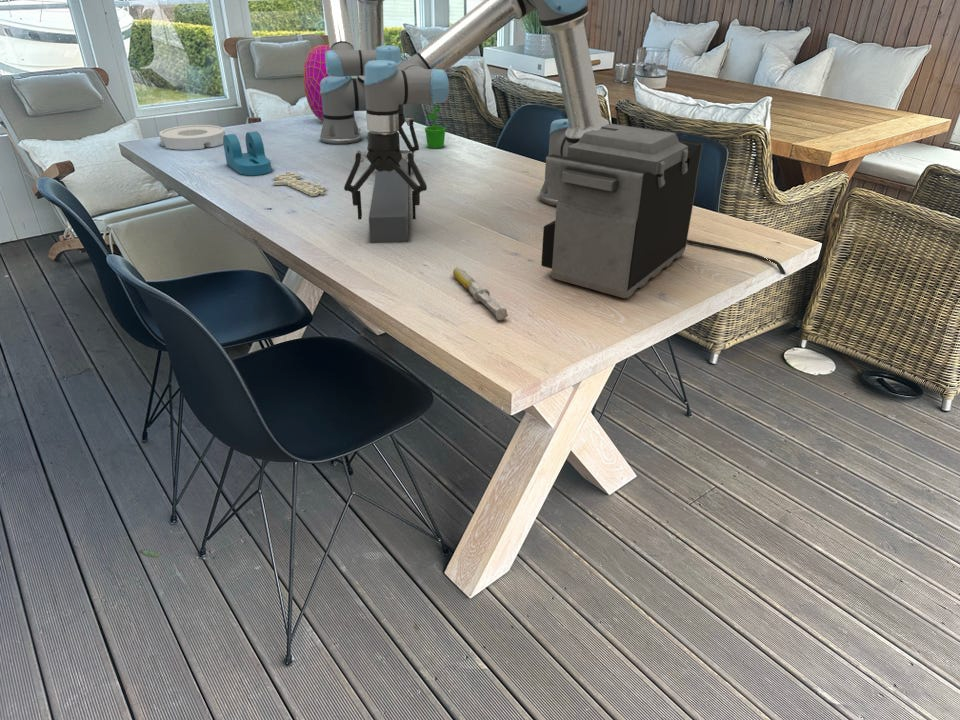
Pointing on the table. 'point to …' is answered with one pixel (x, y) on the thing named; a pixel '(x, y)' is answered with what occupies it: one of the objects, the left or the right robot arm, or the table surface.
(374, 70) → the right robot arm
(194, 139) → the ashtray
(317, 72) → the decorative egg
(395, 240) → the thick board
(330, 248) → the table surface
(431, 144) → the potted flower
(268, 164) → the camera mount
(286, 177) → the decorative sign
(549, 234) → the dark grey storage case
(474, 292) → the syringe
